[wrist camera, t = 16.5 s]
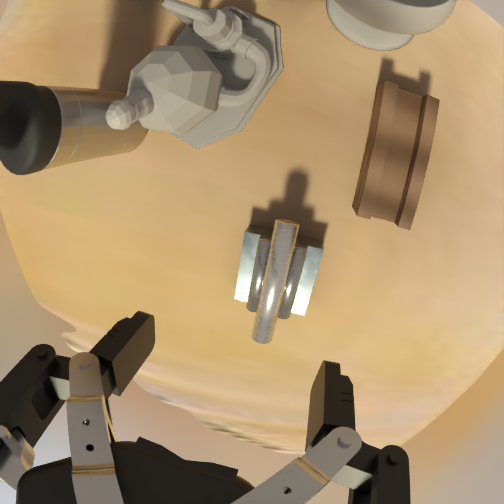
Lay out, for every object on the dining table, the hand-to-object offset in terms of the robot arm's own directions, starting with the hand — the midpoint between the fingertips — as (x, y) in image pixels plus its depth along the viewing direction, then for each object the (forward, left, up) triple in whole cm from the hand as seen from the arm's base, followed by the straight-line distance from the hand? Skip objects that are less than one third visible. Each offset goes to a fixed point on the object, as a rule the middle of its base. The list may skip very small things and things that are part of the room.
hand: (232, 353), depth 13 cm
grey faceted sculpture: (-3, +20, -28) cm, 35 cm away
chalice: (+20, +22, -28) cm, 41 cm away
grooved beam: (+15, +3, -28) cm, 32 cm away
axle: (-4, -8, -23) cm, 24 cm away
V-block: (-4, -8, -28) cm, 29 cm away
